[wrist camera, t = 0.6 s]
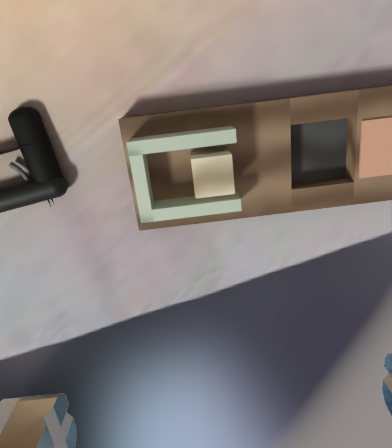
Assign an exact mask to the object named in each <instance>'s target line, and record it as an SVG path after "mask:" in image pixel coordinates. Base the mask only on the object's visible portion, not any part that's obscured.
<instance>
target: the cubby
mask: <svg viewBox="0 0 392 448" xmlns="http://www.w3.org/2000/svg"><path fill="white" fill-rule="evenodd" d="M126 143H127V149H128V154H129V160H130V165H131V171H132V176H133V181H134V187H135V192H136V198H137V203H138V209H139V214H140V220H141V223H147V222H155V221H163V220H171V219H180V218H188V217H196V216H204V215H213V214H221V213H229V212H237V211H242V209H241V198H240V197H239V195H238V193H237V191H235V194H230V195H222V196H214V197H206V198H197V199H196V198H195V196H190V197H182V198H173V199H165V200H157V201H154V199H153V193H152V187H151V181H150V175H149V169H148V163H147V157H146V154H150V153H158V152H166V151H174V150H183V149H191V148H199V147H207V146H215V145H223V144H232V143H237V139H236V129H235V128H234V127H232V126H226V127H217V128H209V129H201V130H193V131H185V132H177V133H168V134H160V135H152V136H144V137H136V138H130V139H129V140H128V141H127V142H126Z"/></svg>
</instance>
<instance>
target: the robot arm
mask: <svg viewBox="0 0 392 448" xmlns="http://www.w3.org/2000/svg"><path fill="white" fill-rule="evenodd" d="M384 367H385V368H386V369H387V371H388V372H389V374H388V375H387V376H386V377H385V378H384V379H383V387H382V391H383V396H384V400H385V403H386V405H387V408H388V410H389V412H390V413H391V415H392V353H389V354H387V356H386V357H385V364H384ZM68 405H69V404H68V401H67V398H66V396H65V394H61V393H60V394H50V395H39V396H29V397H22V398H12V399H3V400H2V401H1V402H0V448H75V444H76V425H75V422H74V419H73V417H72V416H70V415H69V414H68V413H66V411H67V408H68Z"/></svg>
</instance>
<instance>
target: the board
mask: <svg viewBox="0 0 392 448" xmlns="http://www.w3.org/2000/svg"><path fill="white" fill-rule="evenodd" d="M388 117H392V85H384V86H375V87H367V88H359V89H351V90H343V91H335V92H326V93H318V94H310V95H302V96H294V97H286V98H278V99H269V100H261V101H253V102H245V103H237V104H229V105H220V106H212V107H204V108H196V109H188V110H180V111H172V112H163V113H155V114H147V115H139V116H131V117H123V118H121V119H119V125H120V130H121V135H122V141H123V146H124V151H125V157H126V162H127V167H128V173H129V178H130V184H131V189H132V194H133V200H134V205H135V210H136V216H137V221H138V226H139V231H140V230H148V229H156V228H164V227H173V226H181V225H189V224H197V223H205V222H214V221H222V220H230V219H238V218H247V217H255V216H263V215H271V214H279V213H288V212H296V211H304V210H312V209H321V208H329V207H337V206H345V205H354V204H362V203H370V202H378V201H386V200H392V175H384V176H375V177H367V178H358V175H359V156H360V138H361V121H363V120H372V119H380V118H388ZM226 126H232V127H234V128H235V129H236V139H237V143H232V144H223V145H215V146H207V147H199V148H191V149H183V150H174V151H166V152H158V153H150V154H146V157H147V163H148V169H149V175H150V181H151V187H152V193H153V199H154V201H157V200H165V199H173V198H182V197H190V196H195V191H194V183H193V174H192V166H191V158H190V152H197V151H205V150H213V149H221V148H227V149H228V150H229V151H230V152H231V154H232V162H233V175H234V187H235V191H237V193H238V195H239V197H240V198H241V209H242V211H237V212H229V213H221V214H213V215H204V216H196V217H188V218H180V219H171V220H163V221H155V222H147V223H141V220H140V214H139V209H138V203H137V198H136V192H135V187H134V181H133V176H132V171H131V165H130V160H129V154H128V149H127V143H126V142H127V141H128V140H129V139H130V138H136V137H144V136H152V135H160V134H168V133H177V132H185V131H193V130H201V129H209V128H217V127H226Z"/></svg>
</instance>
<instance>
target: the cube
mask: <svg viewBox="0 0 392 448" xmlns="http://www.w3.org/2000/svg"><path fill="white" fill-rule="evenodd" d="M190 158H191V166H192V174H193V183H194V191H195V198H196V199H197V198H206V197H214V196H222V195H230V194H235V187H234V175H233V162H232V154H231V152H230V151H229V150H228V149H227V148H221V149H213V150H205V151H197V152H190Z"/></svg>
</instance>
